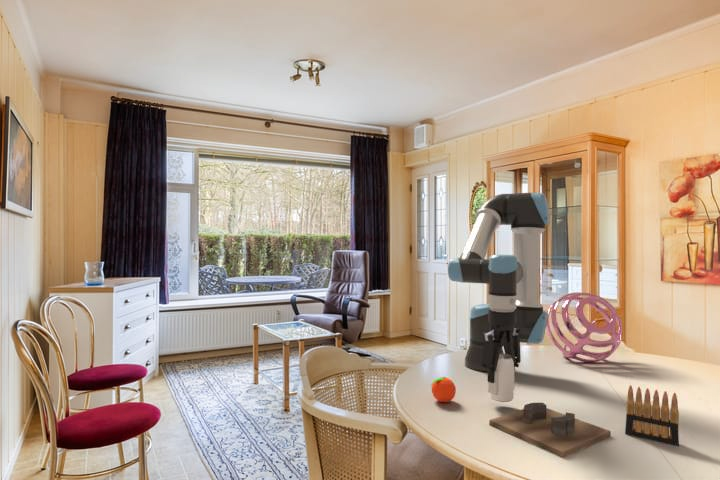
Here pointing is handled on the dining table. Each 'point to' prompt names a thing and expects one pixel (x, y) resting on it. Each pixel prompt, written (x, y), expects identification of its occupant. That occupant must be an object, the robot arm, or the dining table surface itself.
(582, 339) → the pink slotted hollow sphere
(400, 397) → the dining table surface
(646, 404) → the ammunition clip
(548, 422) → the wooden board with blocks
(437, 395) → the clementine
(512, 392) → the can
